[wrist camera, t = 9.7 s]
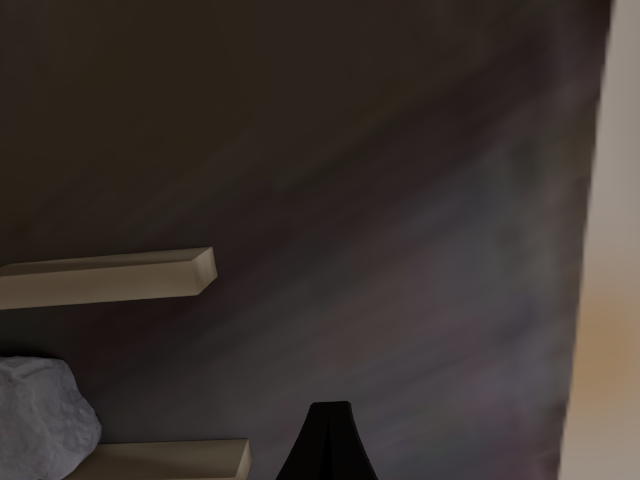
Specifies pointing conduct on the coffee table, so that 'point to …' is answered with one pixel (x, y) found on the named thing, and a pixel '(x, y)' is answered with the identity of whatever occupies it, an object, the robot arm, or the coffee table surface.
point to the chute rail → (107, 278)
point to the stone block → (43, 420)
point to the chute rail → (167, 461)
